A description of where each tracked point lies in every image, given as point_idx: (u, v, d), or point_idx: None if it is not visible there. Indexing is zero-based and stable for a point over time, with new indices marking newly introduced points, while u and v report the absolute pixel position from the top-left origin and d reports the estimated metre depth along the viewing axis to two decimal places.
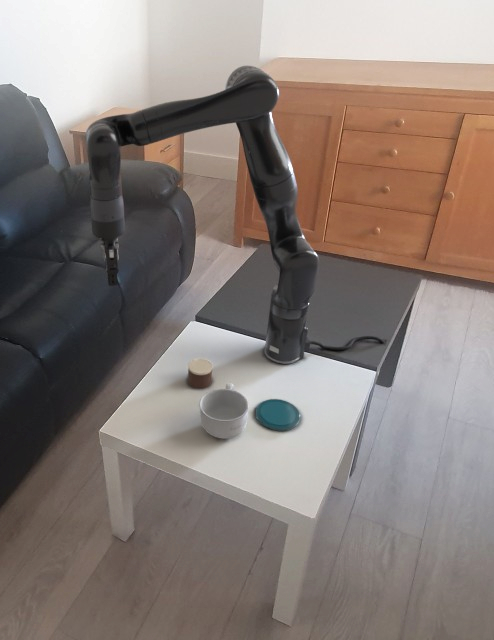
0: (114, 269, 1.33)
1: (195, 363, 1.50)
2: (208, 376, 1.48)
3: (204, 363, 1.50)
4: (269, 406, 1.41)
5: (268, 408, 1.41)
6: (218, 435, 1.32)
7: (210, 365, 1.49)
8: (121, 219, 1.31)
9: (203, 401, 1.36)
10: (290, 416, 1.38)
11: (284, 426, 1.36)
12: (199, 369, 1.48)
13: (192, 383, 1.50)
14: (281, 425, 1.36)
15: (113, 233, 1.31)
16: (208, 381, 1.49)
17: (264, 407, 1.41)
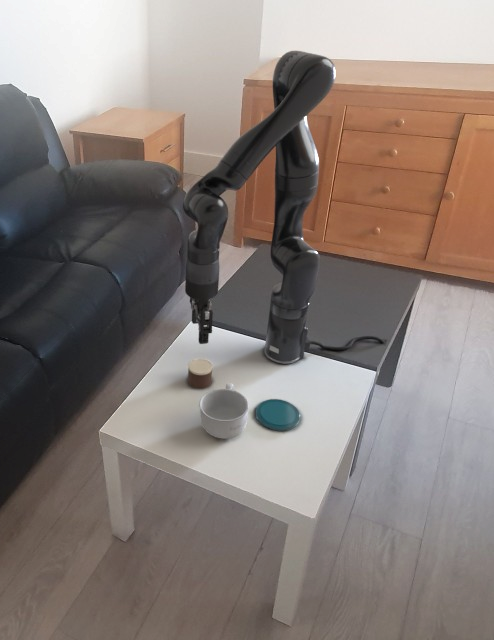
0: (208, 329, 1.35)
1: (195, 363, 1.50)
2: (208, 376, 1.48)
3: (204, 363, 1.50)
4: (269, 406, 1.41)
5: (268, 408, 1.41)
6: (218, 435, 1.32)
7: (210, 365, 1.49)
8: (217, 281, 1.33)
9: (203, 401, 1.36)
10: (290, 416, 1.38)
11: (284, 426, 1.36)
12: (199, 369, 1.48)
13: (192, 383, 1.50)
14: (281, 425, 1.36)
15: (209, 295, 1.33)
16: (208, 381, 1.49)
17: (264, 407, 1.41)
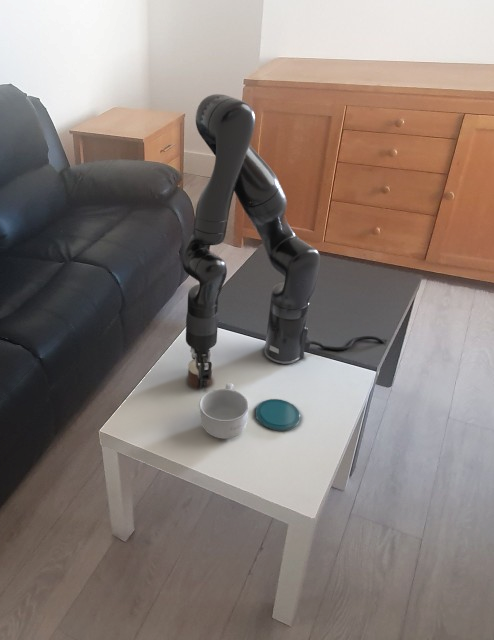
0: (206, 377, 1.44)
1: None
2: None
3: None
4: (269, 406, 1.41)
5: (268, 408, 1.41)
6: (218, 435, 1.32)
7: None
8: (215, 332, 1.41)
9: (203, 401, 1.36)
10: (290, 416, 1.38)
11: (284, 426, 1.36)
12: None
13: (192, 383, 1.50)
14: (281, 425, 1.36)
15: (208, 345, 1.41)
16: (208, 381, 1.49)
17: (264, 407, 1.41)
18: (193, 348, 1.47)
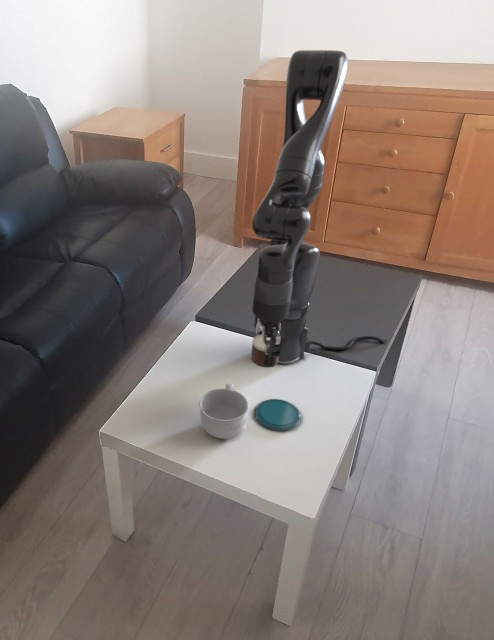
0: (276, 353, 1.26)
1: (260, 338, 1.32)
2: None
3: None
4: (269, 406, 1.41)
5: (268, 408, 1.41)
6: (218, 435, 1.32)
7: None
8: (289, 301, 1.22)
9: (203, 401, 1.36)
10: (290, 416, 1.38)
11: (284, 426, 1.36)
12: None
13: (257, 361, 1.32)
14: (281, 425, 1.36)
15: (280, 316, 1.23)
16: (275, 359, 1.31)
17: (264, 407, 1.41)
18: (260, 321, 1.29)
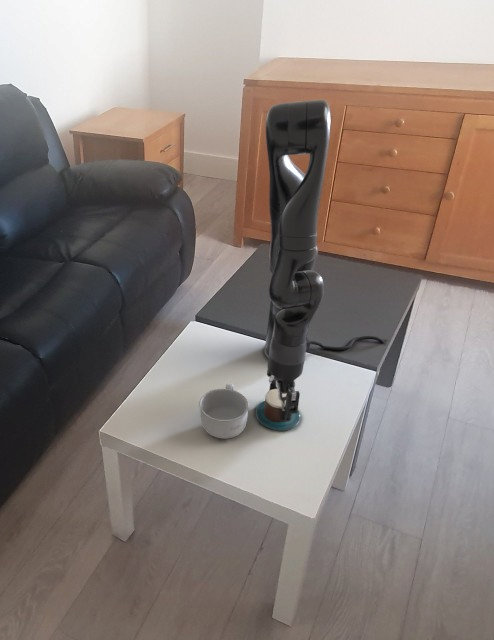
0: (293, 410, 1.30)
1: (273, 394, 1.37)
2: None
3: (283, 395, 1.37)
4: None
5: None
6: (218, 435, 1.32)
7: None
8: (303, 361, 1.28)
9: (203, 401, 1.36)
10: None
11: (284, 426, 1.36)
12: (278, 401, 1.35)
13: (269, 416, 1.37)
14: (281, 425, 1.36)
15: (295, 375, 1.28)
16: None
17: None
18: (275, 377, 1.34)
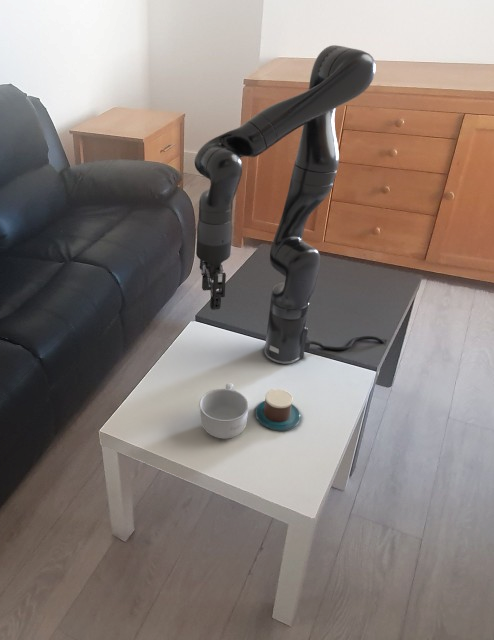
0: (221, 293, 1.30)
1: (273, 394, 1.37)
2: (288, 409, 1.35)
3: (283, 395, 1.37)
4: None
5: None
6: (218, 435, 1.32)
7: (290, 397, 1.36)
8: (229, 242, 1.28)
9: (203, 401, 1.36)
10: (290, 416, 1.38)
11: (284, 426, 1.36)
12: (278, 401, 1.35)
13: (269, 416, 1.37)
14: (281, 425, 1.36)
15: (221, 257, 1.29)
16: (287, 414, 1.36)
17: None
18: (204, 264, 1.34)
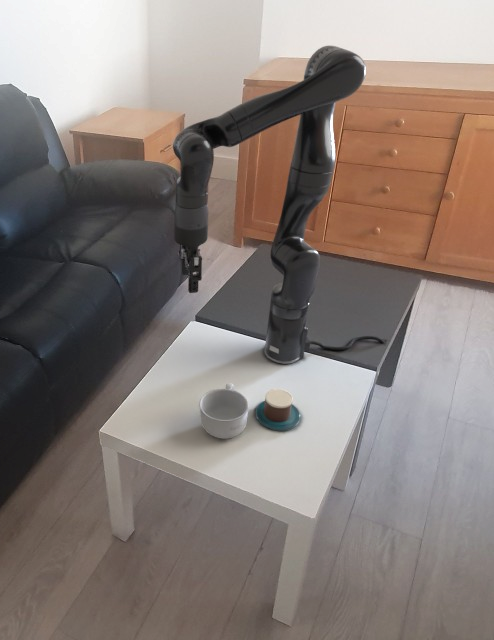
0: (197, 276, 1.33)
1: (273, 394, 1.37)
2: (288, 409, 1.35)
3: (283, 395, 1.37)
4: None
5: None
6: (218, 435, 1.32)
7: (290, 397, 1.36)
8: (206, 227, 1.31)
9: (203, 401, 1.36)
10: (290, 416, 1.38)
11: (284, 426, 1.36)
12: (278, 401, 1.35)
13: (269, 416, 1.37)
14: (281, 425, 1.36)
15: (198, 241, 1.32)
16: (287, 414, 1.36)
17: None
18: (182, 249, 1.38)
